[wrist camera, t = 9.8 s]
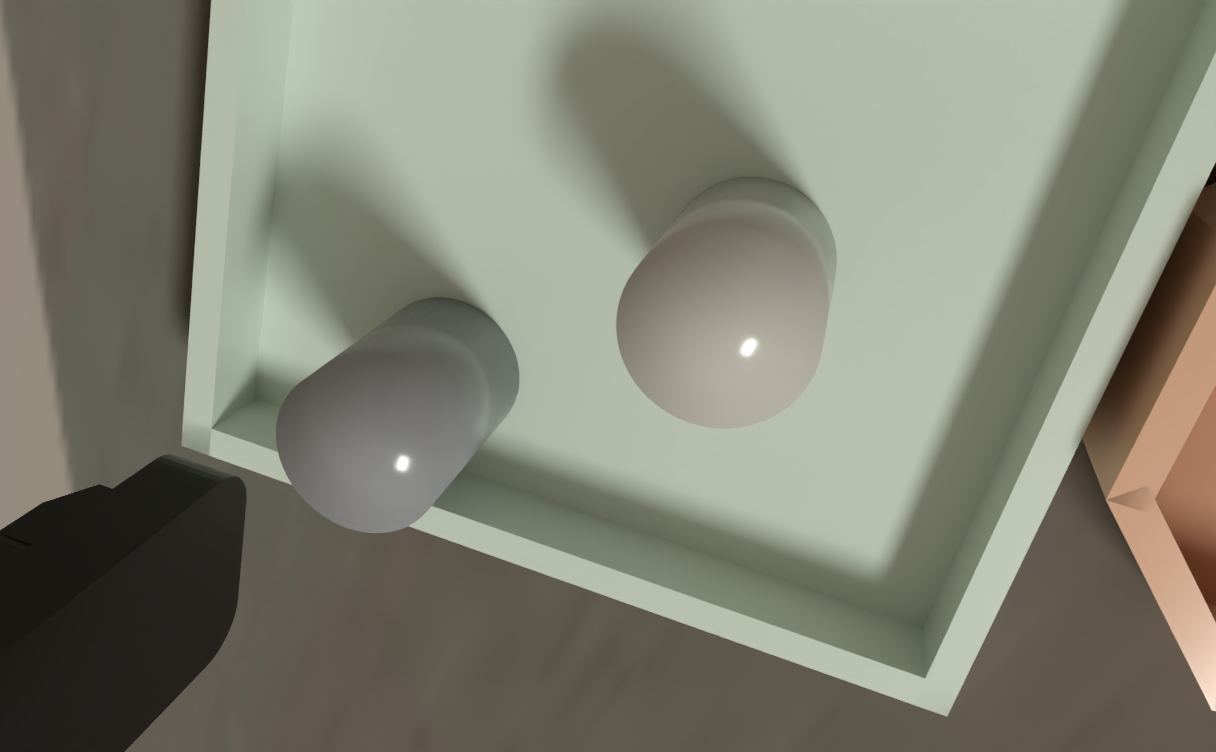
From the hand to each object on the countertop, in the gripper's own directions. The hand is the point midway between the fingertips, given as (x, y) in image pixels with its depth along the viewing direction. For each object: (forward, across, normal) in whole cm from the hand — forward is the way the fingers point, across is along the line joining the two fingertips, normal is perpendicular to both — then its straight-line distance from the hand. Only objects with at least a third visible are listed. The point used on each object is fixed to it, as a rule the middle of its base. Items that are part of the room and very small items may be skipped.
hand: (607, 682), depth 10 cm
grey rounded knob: (+15, +7, +5) cm, 17 cm away
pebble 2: (+15, 0, 0) cm, 15 cm away
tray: (+16, +3, 0) cm, 16 cm away
